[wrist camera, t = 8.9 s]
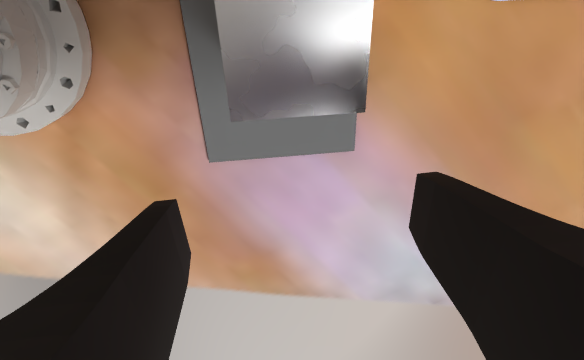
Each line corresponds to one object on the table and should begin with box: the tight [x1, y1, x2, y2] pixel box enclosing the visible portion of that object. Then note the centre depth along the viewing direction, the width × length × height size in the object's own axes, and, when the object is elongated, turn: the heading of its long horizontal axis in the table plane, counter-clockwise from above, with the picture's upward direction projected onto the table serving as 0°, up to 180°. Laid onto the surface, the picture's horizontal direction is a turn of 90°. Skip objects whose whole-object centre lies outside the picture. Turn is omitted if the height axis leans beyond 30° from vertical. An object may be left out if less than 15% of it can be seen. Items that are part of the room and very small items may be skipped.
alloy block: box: [214, 0, 374, 122], centre depth 13 cm, size 4×4×9 cm
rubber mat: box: [180, 0, 357, 163], centre depth 17 cm, size 9×14×1 cm, turn 2°
